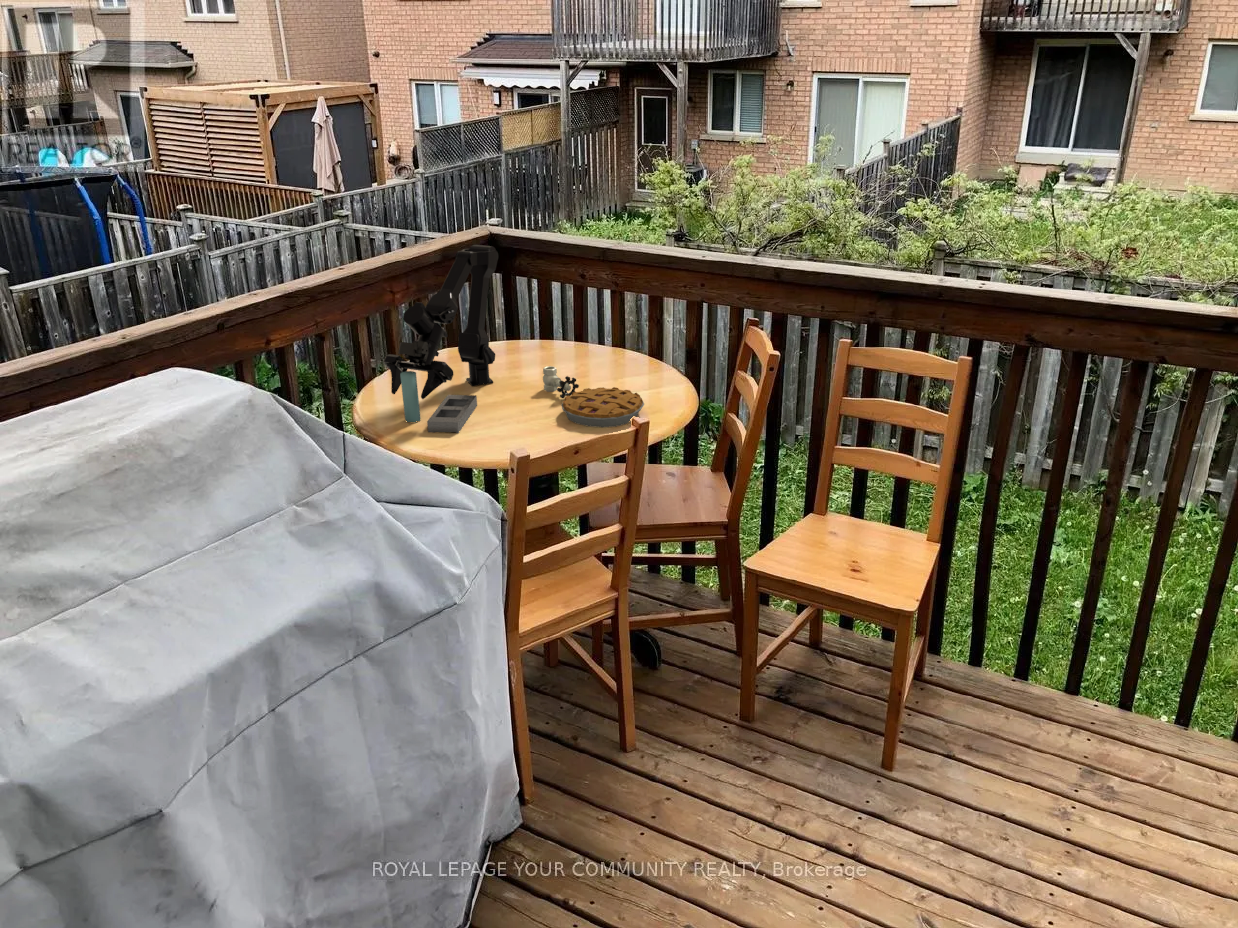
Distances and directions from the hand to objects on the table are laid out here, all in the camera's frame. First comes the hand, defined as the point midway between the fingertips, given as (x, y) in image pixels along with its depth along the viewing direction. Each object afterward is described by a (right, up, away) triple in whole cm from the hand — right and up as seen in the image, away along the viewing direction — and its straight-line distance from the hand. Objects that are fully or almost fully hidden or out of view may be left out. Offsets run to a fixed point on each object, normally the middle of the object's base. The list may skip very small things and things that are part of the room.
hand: (407, 396), depth 260 cm
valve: (+38, +2, +22) cm, 44 cm away
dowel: (+1, -6, +4) cm, 7 cm away
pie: (+51, -5, +7) cm, 52 cm away
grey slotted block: (+11, -6, +5) cm, 13 cm away
